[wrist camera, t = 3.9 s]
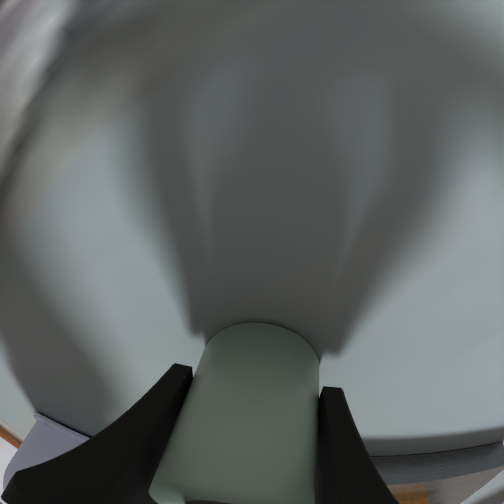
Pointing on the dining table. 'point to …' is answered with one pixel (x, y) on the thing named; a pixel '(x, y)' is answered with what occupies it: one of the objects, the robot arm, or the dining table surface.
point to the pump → (246, 423)
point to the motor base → (440, 474)
